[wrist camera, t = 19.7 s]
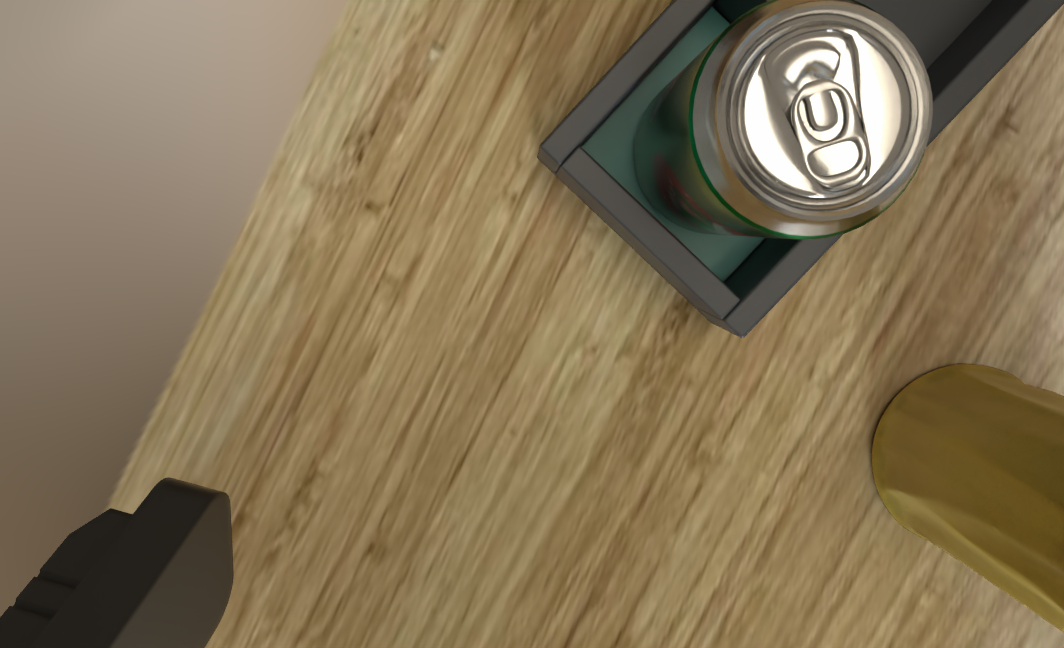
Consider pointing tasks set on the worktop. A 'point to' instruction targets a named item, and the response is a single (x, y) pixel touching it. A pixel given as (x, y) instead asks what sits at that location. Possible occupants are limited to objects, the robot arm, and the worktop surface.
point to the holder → (740, 261)
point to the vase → (981, 477)
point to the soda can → (788, 124)
